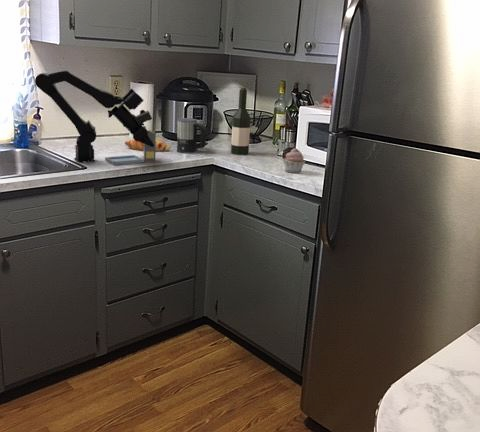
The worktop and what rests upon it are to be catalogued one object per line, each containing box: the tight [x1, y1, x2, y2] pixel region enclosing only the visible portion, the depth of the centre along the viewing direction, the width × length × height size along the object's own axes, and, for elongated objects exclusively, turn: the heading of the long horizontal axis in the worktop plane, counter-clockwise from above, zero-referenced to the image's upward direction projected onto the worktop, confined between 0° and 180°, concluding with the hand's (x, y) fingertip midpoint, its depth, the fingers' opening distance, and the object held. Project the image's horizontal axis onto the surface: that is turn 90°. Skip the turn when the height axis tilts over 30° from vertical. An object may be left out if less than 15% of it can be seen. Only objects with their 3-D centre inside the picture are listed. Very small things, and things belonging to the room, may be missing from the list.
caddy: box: [142, 129, 157, 163], centre depth 236 cm, size 4×5×13 cm
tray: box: [104, 154, 145, 166], centre depth 233 cm, size 13×9×2 cm
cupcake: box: [282, 147, 306, 174], centre depth 233 cm, size 9×9×10 cm
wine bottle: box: [230, 87, 252, 156], centre depth 260 cm, size 8×8×30 cm
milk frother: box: [176, 117, 209, 154], centre depth 263 cm, size 14×16×15 cm
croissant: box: [124, 138, 171, 152], centre depth 260 cm, size 21×10×8 cm, turn 87°
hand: (152, 145), depth 236 cm, fingers closed on caddy, 5 cm apart
